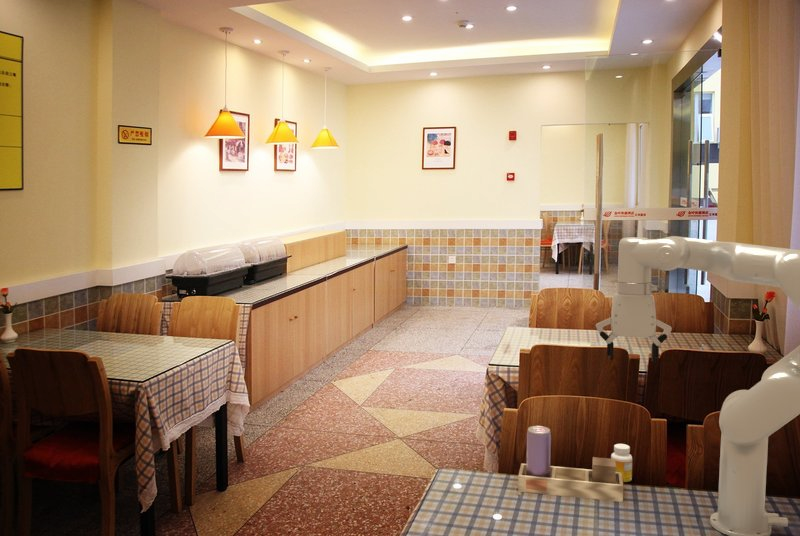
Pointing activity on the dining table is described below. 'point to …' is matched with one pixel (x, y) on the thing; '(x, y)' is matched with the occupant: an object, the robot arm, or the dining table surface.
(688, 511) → the dining table surface
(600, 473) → the walnut block
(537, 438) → the beverage can
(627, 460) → the supplement bottle
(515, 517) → the dining table surface
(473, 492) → the dining table surface
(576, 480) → the rack
